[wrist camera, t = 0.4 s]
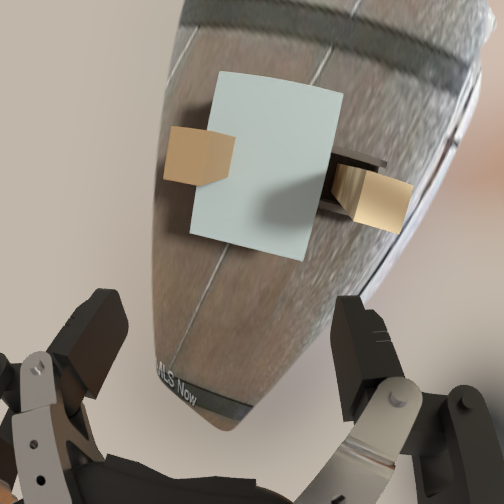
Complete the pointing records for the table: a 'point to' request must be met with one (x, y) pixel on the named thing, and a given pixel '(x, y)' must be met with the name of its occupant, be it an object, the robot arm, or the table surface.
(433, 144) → the table surface
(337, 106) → the lid
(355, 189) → the wooden block
